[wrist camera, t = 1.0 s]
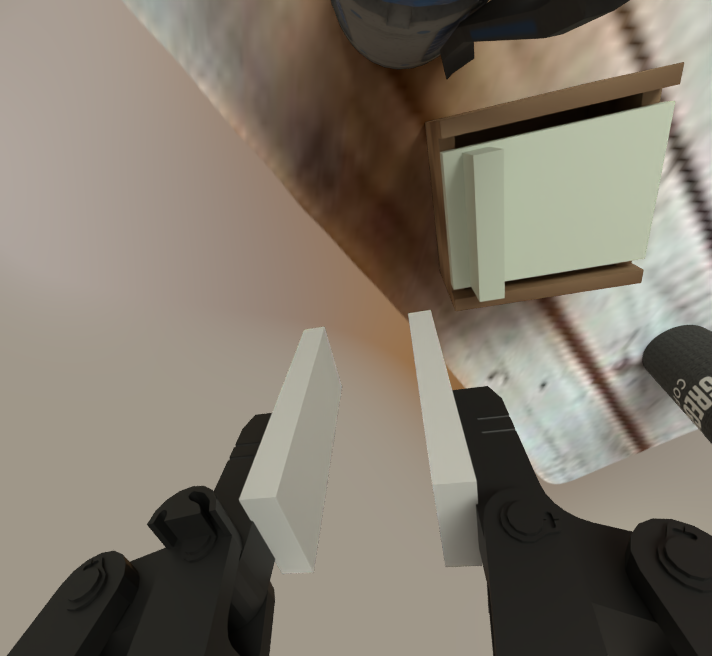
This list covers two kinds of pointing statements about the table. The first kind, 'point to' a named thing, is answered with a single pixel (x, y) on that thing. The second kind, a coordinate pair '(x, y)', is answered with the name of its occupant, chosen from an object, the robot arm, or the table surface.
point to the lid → (553, 198)
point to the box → (525, 119)
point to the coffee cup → (685, 371)
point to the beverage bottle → (454, 26)
